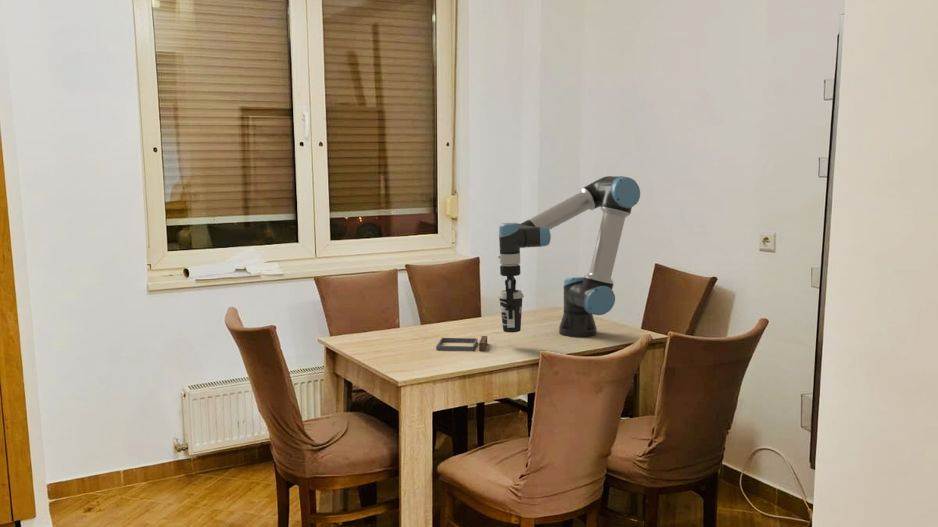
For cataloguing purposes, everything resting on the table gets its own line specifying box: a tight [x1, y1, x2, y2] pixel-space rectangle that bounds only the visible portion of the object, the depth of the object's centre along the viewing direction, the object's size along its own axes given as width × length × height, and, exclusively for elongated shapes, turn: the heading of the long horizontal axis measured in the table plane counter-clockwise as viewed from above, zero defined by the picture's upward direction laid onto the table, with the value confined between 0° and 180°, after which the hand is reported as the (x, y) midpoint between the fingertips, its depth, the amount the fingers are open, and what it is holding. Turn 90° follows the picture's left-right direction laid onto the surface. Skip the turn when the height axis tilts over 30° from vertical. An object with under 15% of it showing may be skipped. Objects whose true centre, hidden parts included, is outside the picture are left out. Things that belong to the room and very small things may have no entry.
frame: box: [435, 337, 479, 352], centre depth 295 cm, size 14×14×2 cm
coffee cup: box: [497, 289, 524, 333], centre depth 292 cm, size 10×10×15 cm
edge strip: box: [478, 335, 488, 352], centre depth 293 cm, size 2×12×3 cm, turn 173°
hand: (511, 324), depth 292 cm, fingers closed on coffee cup, 7 cm apart
